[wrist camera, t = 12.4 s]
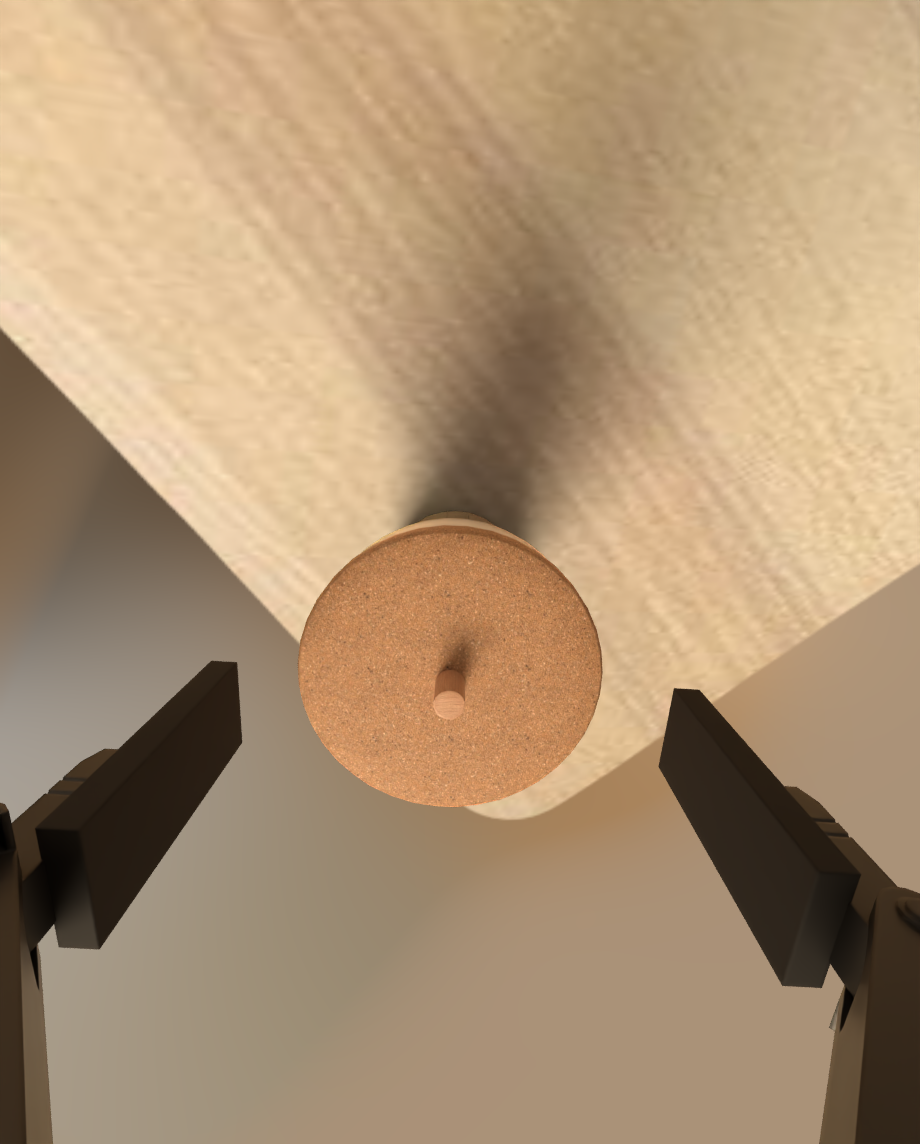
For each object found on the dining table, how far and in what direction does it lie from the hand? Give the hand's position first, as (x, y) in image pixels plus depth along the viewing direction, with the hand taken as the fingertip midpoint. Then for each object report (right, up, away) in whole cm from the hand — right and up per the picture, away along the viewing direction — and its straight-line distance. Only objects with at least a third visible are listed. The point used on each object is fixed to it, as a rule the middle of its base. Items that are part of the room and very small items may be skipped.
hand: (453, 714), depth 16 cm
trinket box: (0, +3, +10) cm, 10 cm away
